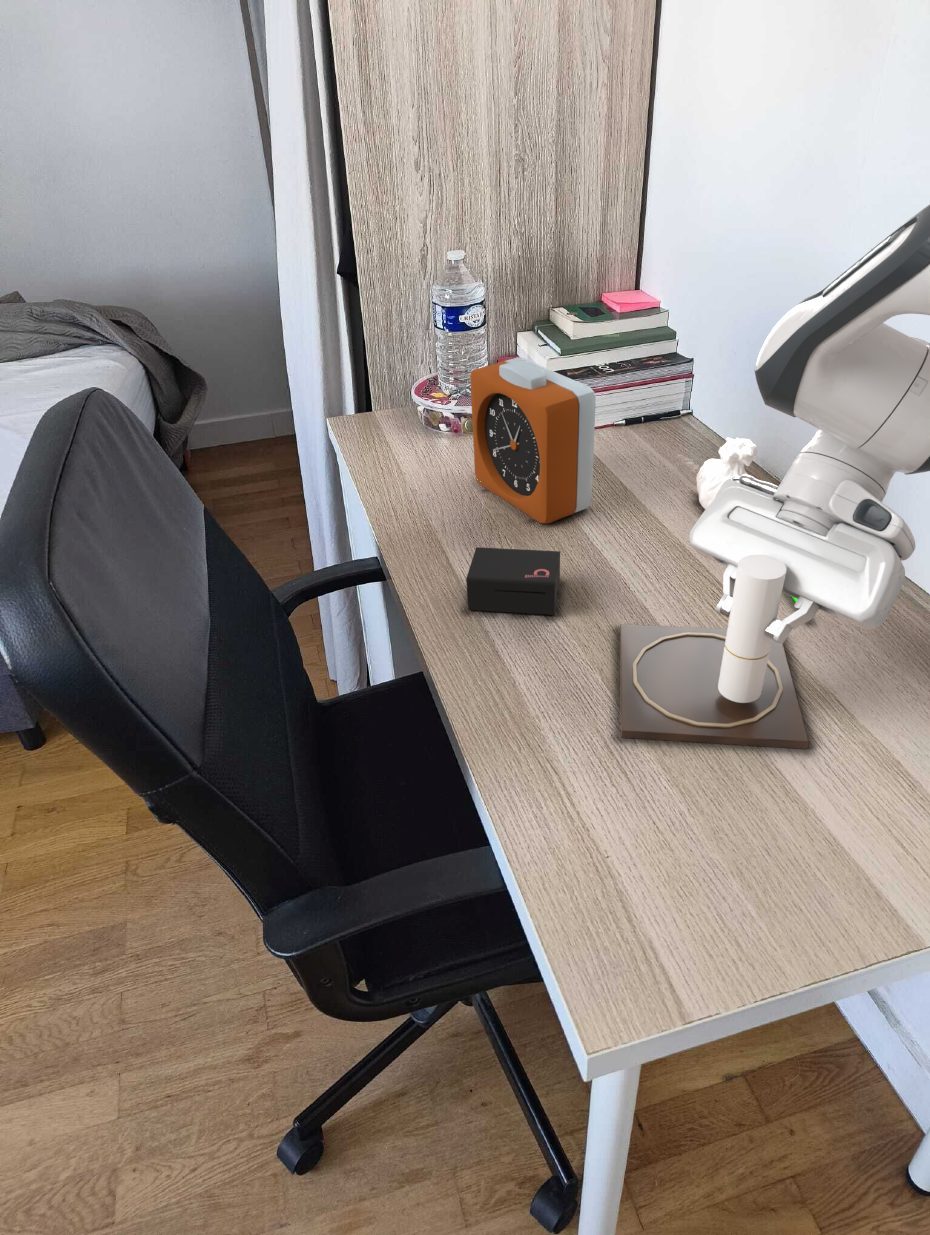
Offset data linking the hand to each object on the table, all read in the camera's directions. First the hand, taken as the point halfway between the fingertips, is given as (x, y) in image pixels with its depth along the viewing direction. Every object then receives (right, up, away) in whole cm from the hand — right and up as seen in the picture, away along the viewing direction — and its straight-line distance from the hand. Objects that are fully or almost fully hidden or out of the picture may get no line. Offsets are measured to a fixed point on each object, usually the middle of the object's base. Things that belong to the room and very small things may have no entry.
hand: (748, 627), depth 81 cm
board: (-2, -6, +9) cm, 11 cm away
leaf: (+13, +4, +23) cm, 27 cm away
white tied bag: (+10, +17, +40) cm, 45 cm away
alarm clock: (-17, +19, +46) cm, 53 cm away
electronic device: (-21, +3, +25) cm, 33 cm away
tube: (+1, -7, +5) cm, 9 cm away
